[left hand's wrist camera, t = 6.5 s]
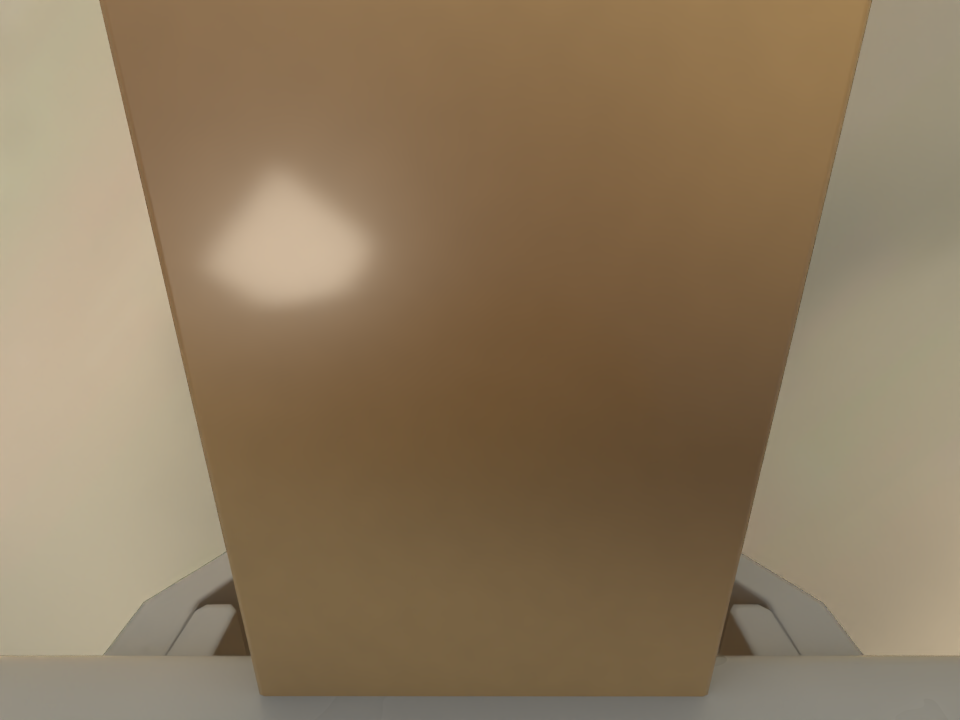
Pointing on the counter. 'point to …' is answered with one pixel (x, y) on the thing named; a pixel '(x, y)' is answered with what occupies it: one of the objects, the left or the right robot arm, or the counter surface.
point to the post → (484, 317)
